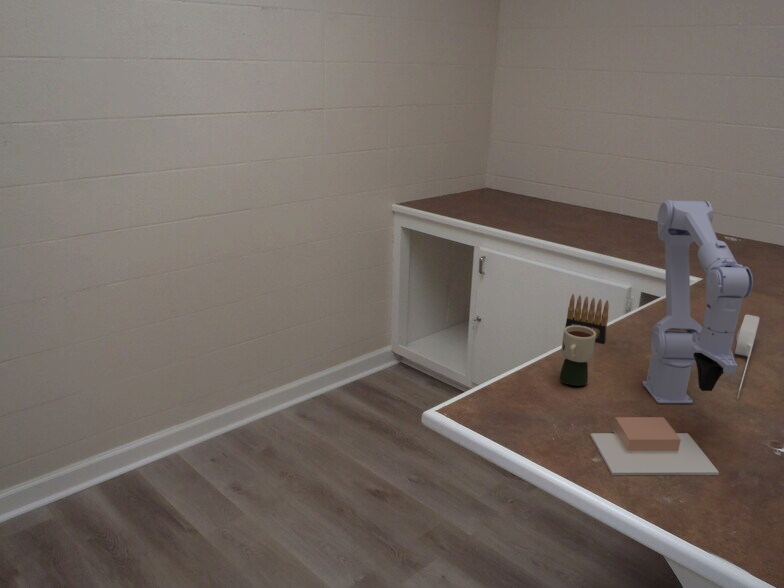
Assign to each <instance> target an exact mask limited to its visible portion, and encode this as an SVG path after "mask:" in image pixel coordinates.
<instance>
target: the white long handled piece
mask: <svg viewBox="0 0 784 588" xmlns="http://www.w3.org/2000/svg"><path fill="white" fill-rule="evenodd" d="M759 323H760V316H758V315H757V316H756V315H751V314H747V313H746V314H745V315H744V317H743V321H742V323H741V325H740V327H739V329H738V332H737V333H736V337H735V339H736V347H735V349H734V351H735V352H734V354H735V355H738V356H742V357H746V358H747V361H746V364H745V367H744V372H743V375H742V378H741V381H740V385H739V388H738V393H737V397H736V401H738V400H739V398H740V394H741V390H742V386H743V383H744V379H745V376H746V371H747V369H748V365H749V361H750V358H751V354H752V351H753V347H754V343H755V339H756V336H757V332H758V329H759V328H758V327H759Z"/></svg>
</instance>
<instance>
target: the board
mask: <svg viewBox="0 0 784 588" xmlns="http://www.w3.org/2000/svg"><path fill="white" fill-rule="evenodd" d="M675 433H676V432H675ZM676 434H677V435H678V436H679V438H680V439H681V441H680V446H679V451H678V453H627V452H626V450H625V449H624V447H623V445H622V444H621V442H620V440H619V439H618V437H617V436H616V434H615V432H613V433H608V432H604V433H601V432H600V433H599V432H597V433H596V432H595V433H594V432H593V433H590V434H589V435H590V438H591V440H592V442H593V443H594V445H595V447H596V449H597V450H598V452H599V454H600V456H601V458H602V460H603V461H604V463H605V466H606V467H607V468H608V470H609V472H610V474H611V476H719V475H720V472H719V470H718V469H717V468H716V467H715V465H714V464H713V463H712V462H711V460H710V459H709V458H708V456H707V455H706V454H705V453H704V452H703V450H702V449H701V447H699V445H698V444H697V443H696V441H694V439H693V438H692V437H691V436H690V434H689V433H687V432H685V433H684V432H682V433H680V432H679V433H678V432H677V433H676Z"/></svg>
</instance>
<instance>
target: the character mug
mask: <svg viewBox="0 0 784 588" xmlns="http://www.w3.org/2000/svg"><path fill="white" fill-rule="evenodd" d="M595 338H596V332H595V331H594V330H592V329H591V328H588V327H585V326H580V325H579V326H576V325H572V326H568V327H564V329H563V334H562V344H561V349H560V350H561V351H560V353H561V355H562V356H563V357H564V358H565V359H564V360H563V362H562V363H563V364H562V366H561V370H560V374H559V380H560V382H562V383H563V384H566V385H571V386H580V387H581V386H584V385H587V383H588V379H589V378H588V377H589V373H588V371H589V369H588V368H589V367H588V365H589V363H588V362H590V361H592V360H593V356H594V350H595V343H596V342H595Z"/></svg>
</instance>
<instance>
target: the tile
mask: <svg viewBox="0 0 784 588" xmlns="http://www.w3.org/2000/svg"><path fill="white" fill-rule="evenodd" d="M612 431H613V433H615V434H616V436H617V437H618V439H619V440H620V442H621V444H622V445H623V447H624V449H625V450H626V452H627V453H678V451H679V446H680V441H681V439H680V438H679V436H678V435H677V434H676V431H675V430H674V428H673V427H672V426H671V424H670V423H669V422H668V421H667V420H666V419H665V417H664V416H658V417H656V416H653V417H652V416H651V417H650V416H649V417H647V416H645V417H644V416H643V417H640V416H638V417H637V416H635V417H633V416H632V417H631V416H624V417H623V416H619V417H618V416H615V417H614V423H613V427H612Z"/></svg>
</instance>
